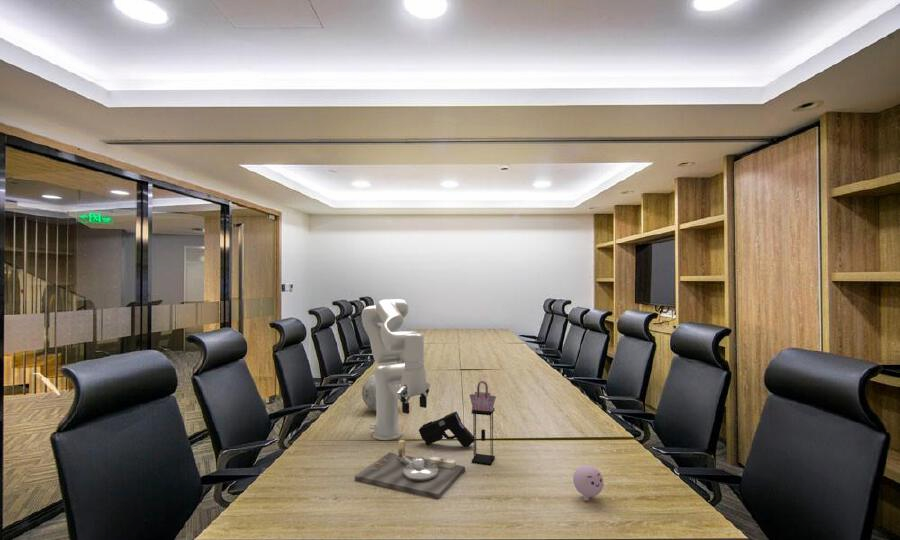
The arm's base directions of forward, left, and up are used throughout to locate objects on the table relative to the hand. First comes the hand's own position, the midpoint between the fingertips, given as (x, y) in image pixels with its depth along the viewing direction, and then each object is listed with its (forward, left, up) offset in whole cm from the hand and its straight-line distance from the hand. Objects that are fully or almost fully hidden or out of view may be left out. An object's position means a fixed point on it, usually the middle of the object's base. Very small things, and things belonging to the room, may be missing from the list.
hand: (414, 410), depth 166 cm
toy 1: (+5, +18, -19) cm, 26 cm away
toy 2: (+64, -4, -19) cm, 67 cm away
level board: (+5, -12, -19) cm, 23 cm away
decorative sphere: (-47, +48, -19) cm, 69 cm away
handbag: (+24, +10, -19) cm, 32 cm away
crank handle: (+5, -10, -17) cm, 21 cm away
